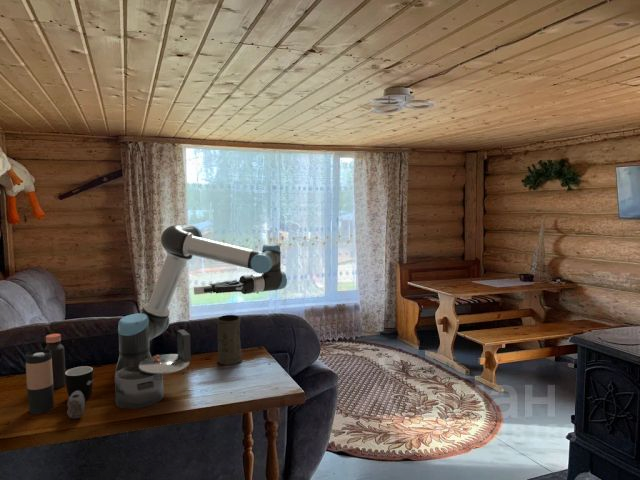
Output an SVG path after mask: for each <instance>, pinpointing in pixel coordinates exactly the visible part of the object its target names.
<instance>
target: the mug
mask: <svg viewBox="0 0 640 480" xmlns="http://www.w3.org/2000/svg"><path fill="white" fill-rule="evenodd" d="M65 381H66V385H65V386H66V387H65V388H66V391H67V396H68V398H69V397H70V396H71V394H72V393H73V392H75V391H77V390H79V391H81V392H82V393H83V395H84V399H86V400H88V399H89V398H90V397H91V395H92V392H93V385H94V369H93V367H92V366H87V365H85V366H84V365H83V366H82V365H81V366H77V367H73V368H69V369H67V370H65ZM87 398H88V399H87Z"/></svg>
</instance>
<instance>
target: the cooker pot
mask: <svg viewBox="0 0 640 480" xmlns="http://www.w3.org/2000/svg"><path fill="white" fill-rule="evenodd" d="M114 390H115V391H114V392H115V393H114V395H115V405H116V406H117V407H119V408H121V409H126V410H135V409H143V408H146V407H150V406H152V405H155V404H157V403H158V402H160V401H162V399H163V398H164V374H146V373H143V372H141V371H140V370H139V364H138V365H132V366H128V367H125V368H123V369H121V370H119V371H117V372H115V373H114Z"/></svg>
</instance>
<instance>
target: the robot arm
mask: <svg viewBox="0 0 640 480" xmlns="http://www.w3.org/2000/svg"><path fill="white" fill-rule="evenodd" d="M160 243H161V246H162V248H163V249H164V250H165V251H166V254H167V255H166V257H165V260H164V262H163V265H162V267H161V270H160V273H159V276H158V277H157V280H156V283H155V285H154V288H153V291H152V293H151V296H150V298H149V301H148V302H146V303H145V304H143V307H142V309H141V311H140V313H138V312H137V313H131V314H128V315H125V316H123V317H121V318H120V319H119V321H118V327H117V332H118V334H117V335H118V351H119V356H118V359H117V360H118V361H117V363H116V366H115V367H116V368H115V373H116V372H117V371H119V370H121V369H123V368H125V367H128V366H132V365H138V364H140V362H142V361H143V360H145V359H147V358H150V357H152V354H151V352H150V351H151V350H150V341H151V340H153V339H154V338H156V337H158V336H161V335H162V334H164V333H165V332H166V330H167V329H168V327H169V325H170V317H169V316H170V314H171V313H170V309H169V308H170V304H171V303H172V299H173V296H174V294H175V291H176V290H177V287H178V284H179V282H180V279H181V276H182V274H183V271H184V269H185V266H186V264H187V262H188V261H189V260H191V259H193V257H200V258H203V259H207V260H212V261H216V262H220V263H224V264H228V265H233V266H236V267H241V268H245V269H250V270H253V271H254V272H255V273H253V274H246V275H241V276H240V278H239V280H233V279H232V280H231V281H230V280H226V281H221V282H215V283H209V284H208V285H200V286H193V294H194V295H203V294H213V293H214V294H225V293H236V292H237V293H241V294H243V295H246V294H248V295H249V294H255V293H256V294H257V295H258V294H260V293H262V292H263V293H264V292H270V291H278V290H282V289H285V288H286V286H287V284H288V278H287V274H286V273H285V272H284V271H282V270H281V269H282V268H281V254H282V252H281V245H279V244H277V243H275V244H274V243H272V244H271V243H268V244H263V246H262V250H261V251H260V250H254V249H250V248H246V247H242V246H237V245H234V244H230V243H225V242H220V241H217V240H216V241H215V240H212V239H208V238H205V237H204V238H203V235H202V232H201V230H200V229H199V228H198V227H197V226H196V225H194V224H191V223H183V224H182V223H181V224H177V225H176V224H175V225H170V226H168V227H166V228H165V229H164V230H163V232H162V234H161V237H160Z"/></svg>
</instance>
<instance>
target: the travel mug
mask: <svg viewBox="0 0 640 480" xmlns="http://www.w3.org/2000/svg"><path fill="white" fill-rule="evenodd" d="M25 377H26V391H27V401H28V402H27V403H28V410H29V413H30V414H31V415H42V414H45V413H49V412H51V411H52V410H53V409H54V407H55V405H54V403H55V402H54V401H55V398H54V389H53V371H52V357H51V350H48V349H45V348H44V349H36V350H32V351H31V350H30V351H29V352H27V353H26V354H25ZM52 408H53V409H52ZM51 409H52V410H51Z"/></svg>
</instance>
